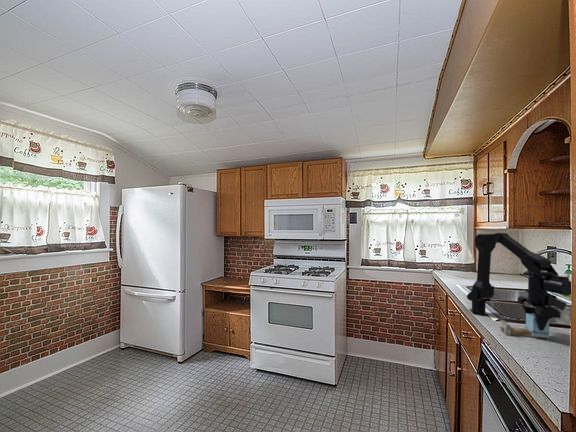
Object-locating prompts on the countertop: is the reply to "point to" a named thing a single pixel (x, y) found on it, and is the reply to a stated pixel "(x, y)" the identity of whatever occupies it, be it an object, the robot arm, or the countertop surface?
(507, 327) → the rail
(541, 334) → the block
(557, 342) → the countertop surface
